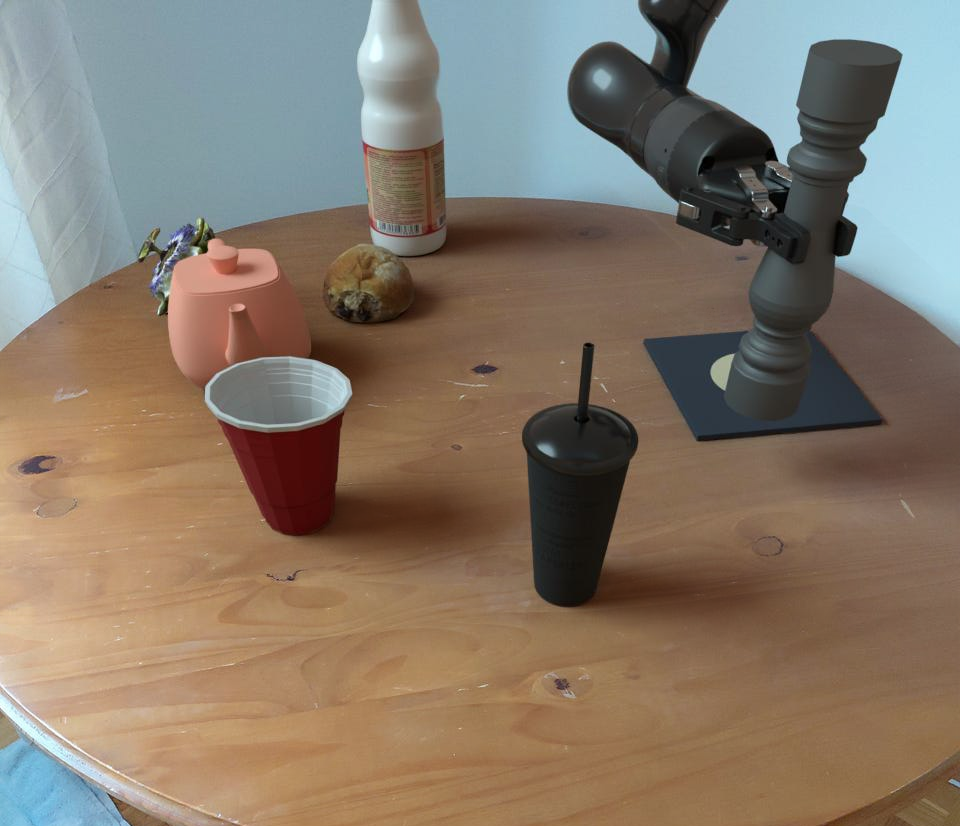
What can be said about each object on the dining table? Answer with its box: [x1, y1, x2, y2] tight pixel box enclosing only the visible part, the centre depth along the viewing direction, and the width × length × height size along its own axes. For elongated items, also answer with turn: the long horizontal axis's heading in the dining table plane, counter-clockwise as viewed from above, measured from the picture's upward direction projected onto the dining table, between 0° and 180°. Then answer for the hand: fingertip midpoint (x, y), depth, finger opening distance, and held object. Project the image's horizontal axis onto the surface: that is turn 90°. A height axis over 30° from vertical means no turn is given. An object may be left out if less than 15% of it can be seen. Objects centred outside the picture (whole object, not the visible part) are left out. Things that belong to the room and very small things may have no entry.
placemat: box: [643, 330, 884, 442], centre depth 88 cm, size 18×18×1 cm
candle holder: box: [724, 38, 904, 421], centre depth 65 cm, size 6×6×25 cm
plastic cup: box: [204, 357, 353, 536], centre depth 70 cm, size 11×11×12 cm
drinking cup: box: [521, 341, 639, 607], centre depth 61 cm, size 8×8×20 cm
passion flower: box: [137, 217, 217, 317], centre depth 96 cm, size 11×11×12 cm
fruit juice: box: [356, 0, 447, 257], centre depth 101 cm, size 9×9×28 cm
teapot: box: [167, 238, 312, 390], centre depth 85 cm, size 13×20×12 cm, turn 19°
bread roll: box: [322, 243, 415, 324], centre depth 98 cm, size 10×10×8 cm
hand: (826, 246), depth 62 cm, fingers closed on candle holder, 3 cm apart
